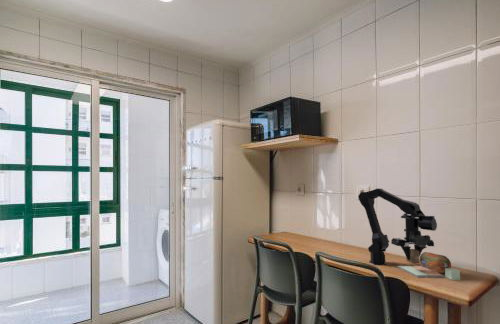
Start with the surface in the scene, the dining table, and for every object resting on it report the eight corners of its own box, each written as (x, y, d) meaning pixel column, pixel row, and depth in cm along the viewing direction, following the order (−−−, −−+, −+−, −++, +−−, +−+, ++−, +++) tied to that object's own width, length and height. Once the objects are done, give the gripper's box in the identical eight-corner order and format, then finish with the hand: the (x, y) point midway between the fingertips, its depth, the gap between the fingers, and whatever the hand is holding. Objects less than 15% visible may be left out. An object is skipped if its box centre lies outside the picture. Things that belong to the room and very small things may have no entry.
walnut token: (411, 263, 140) (411, 250, 141) (406, 261, 144) (406, 248, 144) (419, 263, 140) (419, 250, 141) (414, 261, 144) (414, 248, 145)
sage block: (451, 279, 131) (451, 270, 131) (445, 277, 135) (445, 268, 135) (460, 279, 131) (459, 270, 131) (453, 277, 135) (453, 268, 135)
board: (417, 277, 133) (417, 275, 133) (397, 267, 150) (397, 265, 150) (444, 277, 134) (444, 275, 134) (421, 267, 151) (421, 265, 151)
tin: (419, 266, 152) (419, 250, 152) (424, 266, 153) (423, 250, 153) (448, 275, 137) (447, 257, 138) (452, 274, 139) (452, 256, 139)
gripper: (403, 230, 135) (404, 264, 134) (441, 230, 136) (442, 264, 135) (390, 226, 146) (391, 258, 145) (426, 227, 147) (426, 258, 146)
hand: (412, 259), depth 142 cm, fingers closed on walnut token, 4 cm apart
